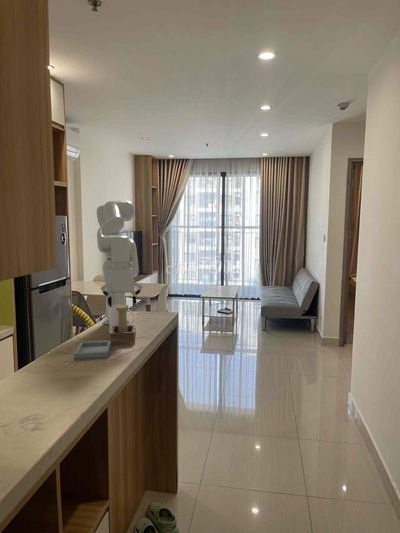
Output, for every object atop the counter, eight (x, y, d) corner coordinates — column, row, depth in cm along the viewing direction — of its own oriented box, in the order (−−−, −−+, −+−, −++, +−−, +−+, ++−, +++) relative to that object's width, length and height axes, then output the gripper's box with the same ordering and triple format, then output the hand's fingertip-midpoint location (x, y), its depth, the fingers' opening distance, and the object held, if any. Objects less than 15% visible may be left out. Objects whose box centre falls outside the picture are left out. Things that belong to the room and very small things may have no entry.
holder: (112, 337, 172) (112, 326, 172) (135, 336, 174) (135, 325, 173) (110, 345, 162) (109, 333, 161) (134, 344, 163) (134, 332, 162)
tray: (81, 347, 159) (80, 341, 158) (111, 346, 160) (111, 340, 160) (74, 360, 145) (74, 354, 145) (107, 358, 146) (107, 352, 146)
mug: (137, 329, 184) (136, 304, 182) (131, 335, 175) (130, 309, 174) (113, 328, 185) (112, 304, 184) (106, 334, 177) (105, 308, 175)
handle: (131, 338, 171) (129, 304, 169) (126, 343, 164) (125, 308, 162) (120, 338, 171) (119, 304, 169) (115, 342, 165) (114, 308, 163)
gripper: (141, 264, 168) (143, 303, 170) (100, 265, 166) (102, 305, 168) (141, 266, 161) (142, 306, 162) (98, 267, 158) (100, 308, 160)
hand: (122, 305), depth 165 cm, fingers open, 9 cm apart
